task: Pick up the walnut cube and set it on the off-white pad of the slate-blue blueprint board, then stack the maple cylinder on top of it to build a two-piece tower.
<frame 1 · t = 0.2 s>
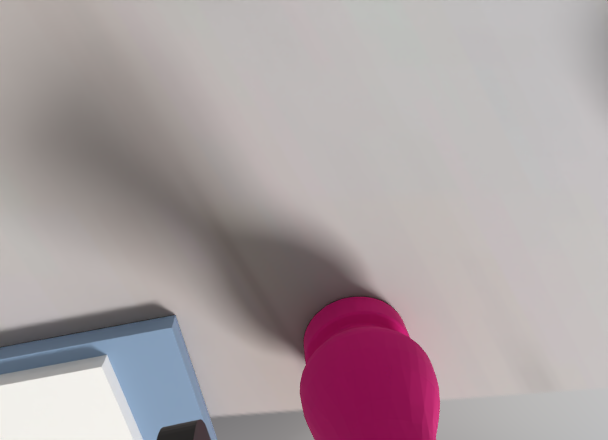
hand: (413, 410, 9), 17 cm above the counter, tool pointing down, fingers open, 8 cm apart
pepper mill: (353, 336, 30), on the counter
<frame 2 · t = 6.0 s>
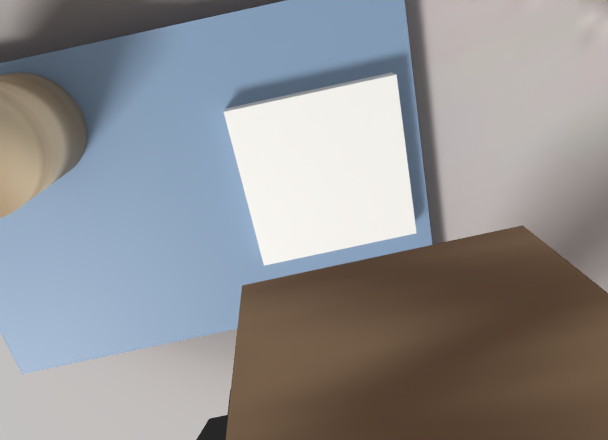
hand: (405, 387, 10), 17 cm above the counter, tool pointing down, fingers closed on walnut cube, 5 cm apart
walnut cube: (399, 369, 10), point 17 cm above the counter, touching gripper
maple cylinder: (31, 128, 23), point 1 cm above the counter, touching blueprint board
blueprint board: (191, 192, 26), on the counter
when the fingers open (4 cm above the counter, at t = 8.4 s): walnut cube drops 1 cm, resting on blueprint board.
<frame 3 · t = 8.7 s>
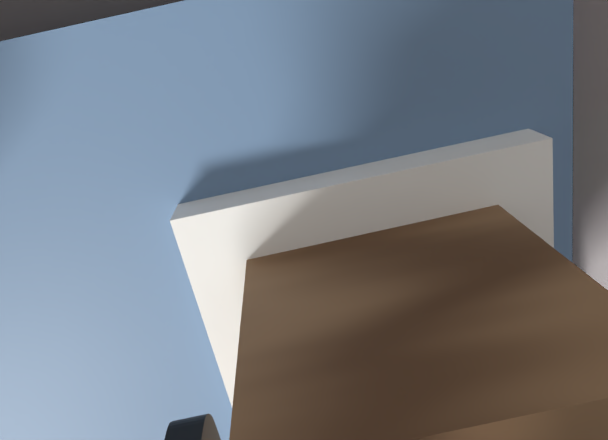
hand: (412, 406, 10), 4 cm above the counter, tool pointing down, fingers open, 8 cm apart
walnut cube: (390, 337, 12), point 2 cm above the counter, touching blueprint board
blueprint board: (122, 344, 14), on the counter
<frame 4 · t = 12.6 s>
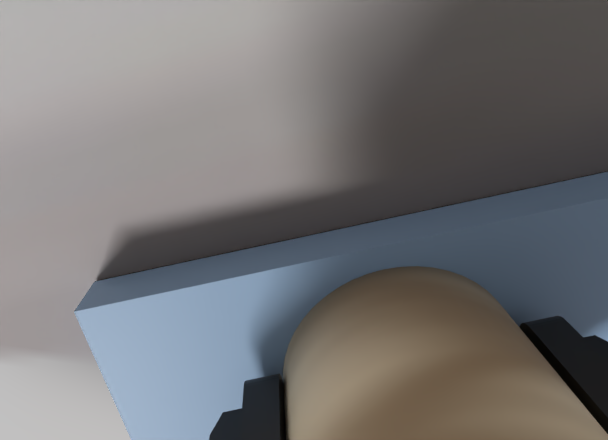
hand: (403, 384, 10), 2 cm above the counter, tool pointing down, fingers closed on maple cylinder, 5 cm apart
maple cylinder: (400, 371, 10), point 1 cm above the counter, touching blueprint board, gripper
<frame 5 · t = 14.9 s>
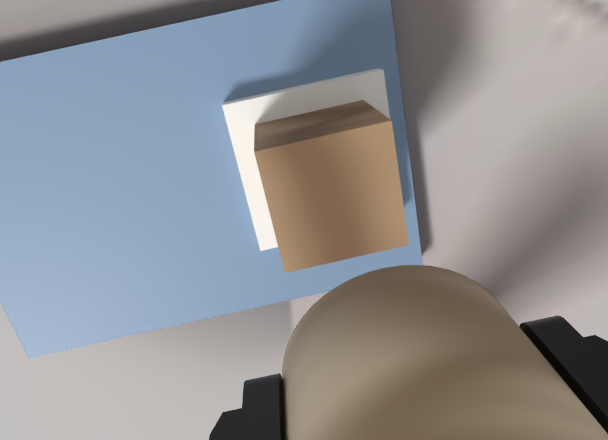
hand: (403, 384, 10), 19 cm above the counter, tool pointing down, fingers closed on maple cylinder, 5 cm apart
walnut cube: (319, 164, 25), point 2 cm above the counter, touching blueprint board
maple cylinder: (399, 370, 10), point 18 cm above the counter, touching gripper
blueprint board: (190, 182, 27), on the counter
when the fingers open (9 cm above the counter, at t = 17.3 s): maple cylinder drops 1 cm, resting on walnut cube.
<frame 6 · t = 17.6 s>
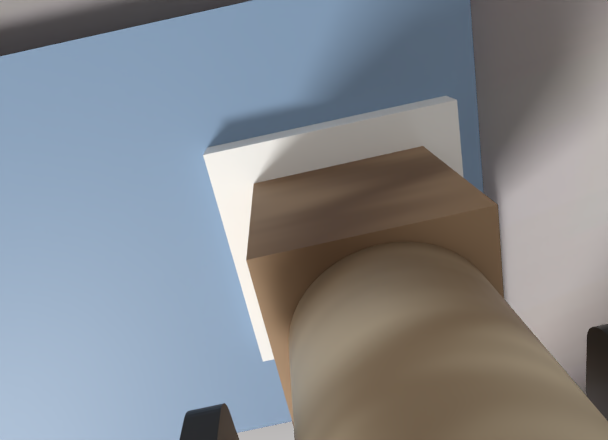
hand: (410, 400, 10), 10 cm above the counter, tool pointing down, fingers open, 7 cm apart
walnut cube: (352, 241, 17), point 2 cm above the counter, touching blueprint board, maple cylinder
maple cylinder: (394, 338, 12), point 8 cm above the counter, touching walnut cube
blueprint board: (162, 257, 19), on the counter
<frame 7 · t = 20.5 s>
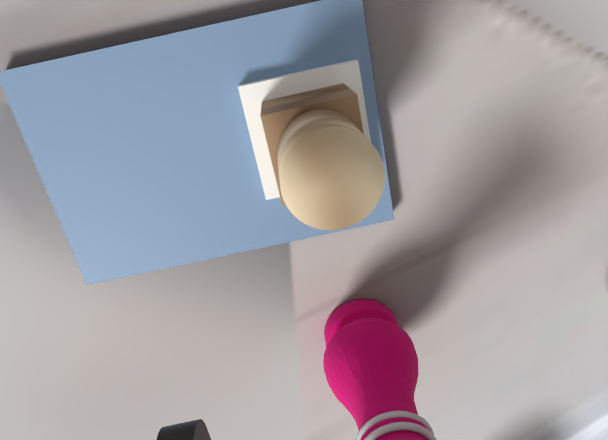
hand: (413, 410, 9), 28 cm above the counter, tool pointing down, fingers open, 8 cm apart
pepper mill: (360, 328, 42), on the counter
walnut cube: (310, 132, 33), point 2 cm above the counter, touching blueprint board, maple cylinder
maple cylinder: (320, 152, 28), point 8 cm above the counter, touching walnut cube
blueprint board: (213, 147, 36), on the counter
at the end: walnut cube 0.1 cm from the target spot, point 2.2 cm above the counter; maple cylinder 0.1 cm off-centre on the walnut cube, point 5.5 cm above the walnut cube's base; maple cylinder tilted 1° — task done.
